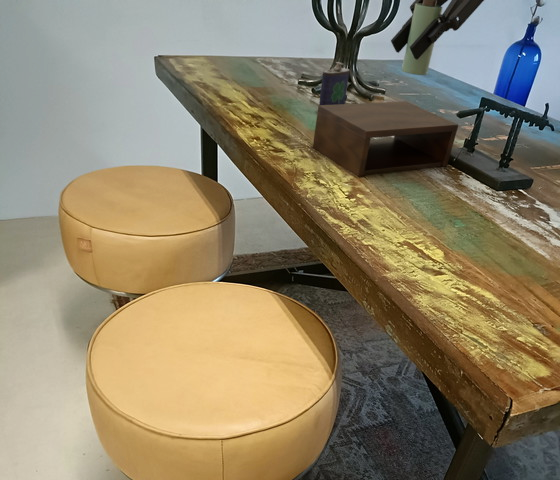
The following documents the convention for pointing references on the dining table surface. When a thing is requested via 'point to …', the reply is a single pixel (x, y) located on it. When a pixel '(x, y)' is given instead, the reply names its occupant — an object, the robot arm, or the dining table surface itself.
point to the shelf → (383, 123)
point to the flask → (334, 85)
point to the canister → (420, 22)
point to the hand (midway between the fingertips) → (404, 49)
